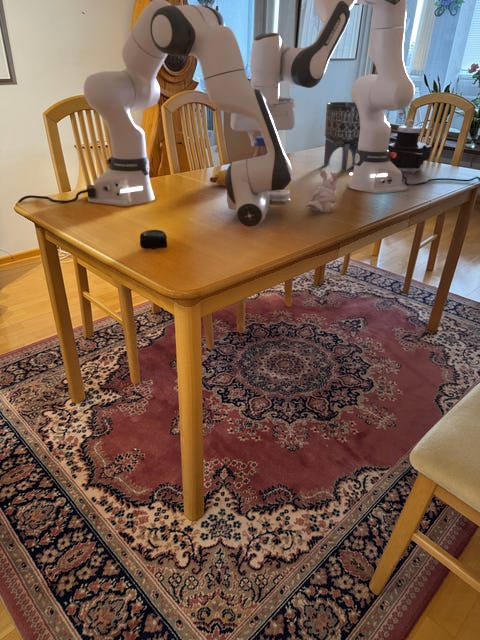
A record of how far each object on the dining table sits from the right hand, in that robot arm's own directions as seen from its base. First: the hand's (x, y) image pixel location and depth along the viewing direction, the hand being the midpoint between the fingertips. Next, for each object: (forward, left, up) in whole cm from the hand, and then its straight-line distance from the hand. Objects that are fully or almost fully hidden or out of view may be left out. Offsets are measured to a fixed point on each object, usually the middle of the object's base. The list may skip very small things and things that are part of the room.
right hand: (262, 145), depth 142 cm
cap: (0, 0, +2) cm, 2 cm away
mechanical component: (-84, -47, -19) cm, 98 cm away
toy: (+4, -31, -19) cm, 37 cm away
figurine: (-19, +8, -19) cm, 28 cm away
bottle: (0, 0, -19) cm, 19 cm away
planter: (-55, -55, -19) cm, 81 cm away
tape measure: (+37, +32, -19) cm, 53 cm away
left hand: (0, -1, -14) cm, 14 cm away
